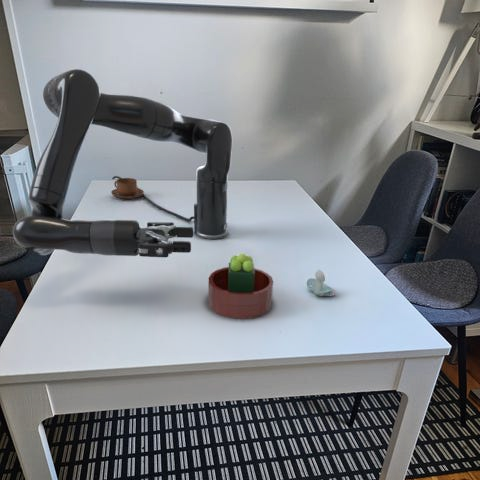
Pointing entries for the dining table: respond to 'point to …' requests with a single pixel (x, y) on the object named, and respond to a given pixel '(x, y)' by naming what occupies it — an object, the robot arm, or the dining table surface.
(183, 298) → the dining table surface
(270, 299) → the pot
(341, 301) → the dining table surface
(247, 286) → the grapes
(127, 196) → the cup and saucer
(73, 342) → the dining table surface
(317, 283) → the pacifier
